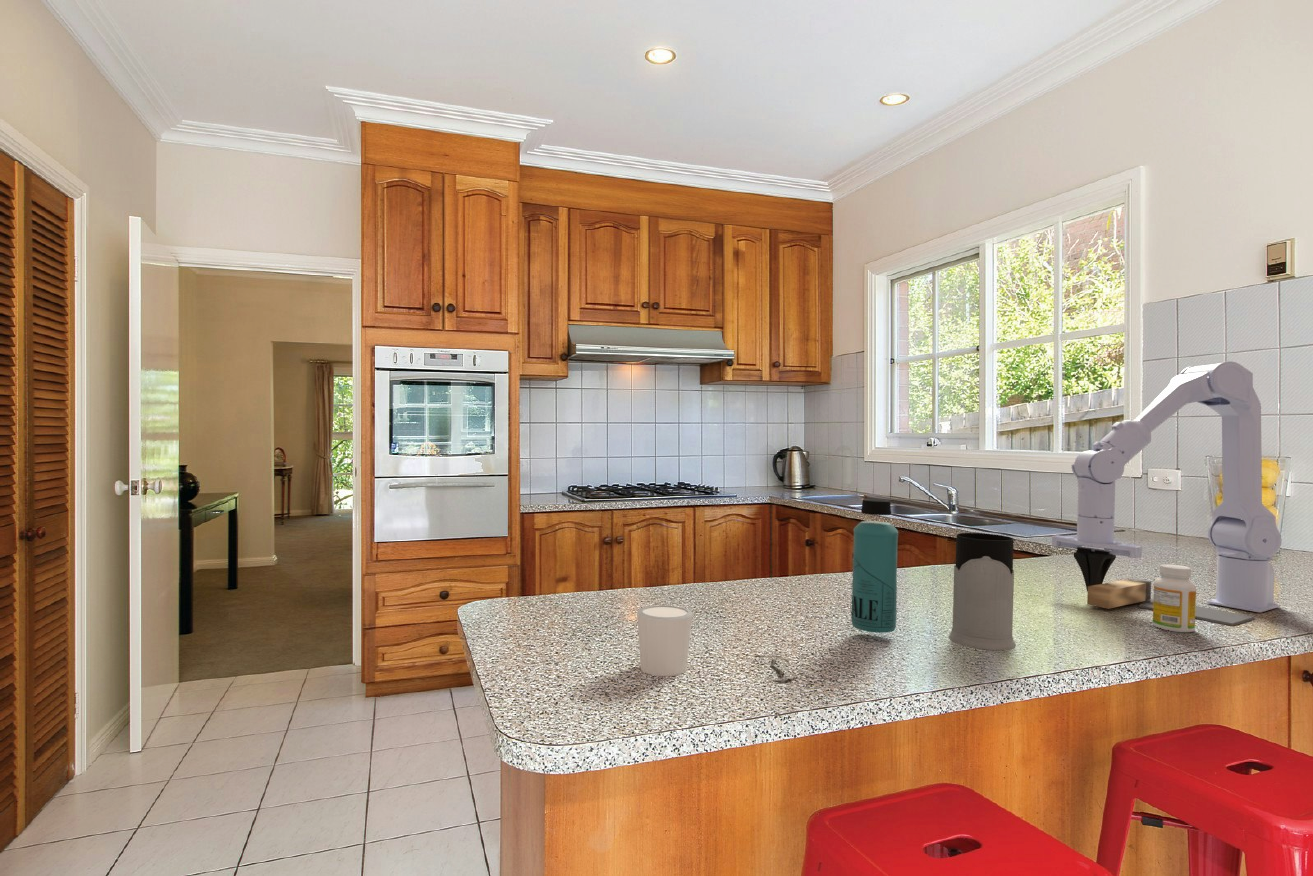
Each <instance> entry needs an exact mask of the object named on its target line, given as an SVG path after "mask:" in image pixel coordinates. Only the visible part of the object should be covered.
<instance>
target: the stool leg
mask: <svg viewBox="0 0 1313 876" xmlns="http://www.w3.org/2000/svg"><path fill="white" fill-rule="evenodd" d="M1151 597H1152V581H1150V580H1146V579H1141V578H1127V579H1122V580H1116V581H1111V582H1106V583H1105V582H1104V583H1102V584H1099V585H1093V586H1088V592H1087V598H1086V600H1087V601H1086V602H1087V605H1089V606H1094V607H1100V608H1103V609H1108V610H1109V609H1113V608H1118V607H1123V606H1126V605H1127V606H1128V605H1132V604H1138V603H1137V602H1141V601H1145V600H1150V599H1151Z"/></svg>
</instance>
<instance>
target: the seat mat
mask: <svg viewBox="0 0 1313 876" xmlns="http://www.w3.org/2000/svg"><path fill="white" fill-rule="evenodd" d="M1138 605H1139V606H1138V607H1139V608H1140V609H1147V610H1150V609H1151V611H1153V602H1150V603H1146V604H1138ZM1195 618H1197V619H1196V620H1200V619H1201V621H1206V622H1210V623H1216V624H1221V625H1226V626H1231V627H1234V626H1236V625H1239V624H1243V623H1246V622H1249V621H1252V620H1255V619H1256V618H1255V616H1252V615H1248V614H1241V613H1237V612H1233V611H1232V612H1231V611H1226V610H1220V609H1215V608H1211V607H1210V608H1209V607H1204V606H1199V605H1196V606H1195Z"/></svg>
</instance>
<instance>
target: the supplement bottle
mask: <svg viewBox="0 0 1313 876" xmlns="http://www.w3.org/2000/svg"><path fill="white" fill-rule="evenodd" d="M1158 572H1159V575H1160V576H1161V577H1157V578H1155V579H1154V582H1153V598H1152V599H1153V610H1152V625H1153V626H1154V627H1155V628H1157V627H1158V628H1157V629H1160V628H1161V629H1160V630H1165V631H1168V630H1169V631H1170V632H1175V633H1192V632H1194V631H1195V629H1196V619H1195V606H1197V605H1196V603H1197V602H1196V601H1197V586H1196V584H1195V583H1194V582H1193V581H1190V578H1192V577H1191V576H1192V568H1191V567H1190V566H1185V565H1178V564H1168V563H1167V564H1160V565H1159V571H1158Z"/></svg>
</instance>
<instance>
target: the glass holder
mask: <svg viewBox="0 0 1313 876" xmlns="http://www.w3.org/2000/svg"><path fill="white" fill-rule="evenodd" d="M955 536H956V537H955V564H954V566H953V567H954V569H953V591H952V595H953V597H952V598H953V599H952V627H951V631H950V633H949V635H948V638H949V639H950V641H952V642H954V643H956V644H957V645H960V646H965V647H970V648H974V649H979V650H989V651H1006V650H1012V649H1014V648H1016V642H1015V640H1014V637H1013V629H1014V628H1013V624H1014V623H1013V622H1014V590H1015V584H1014V583H1015V569H1014V542H1015V539H1014V538H1013V537H1011V536H1008V535H1007V536H1006V535H1000V534H994V533H982V532H981V533H979V532H960V533H956V535H955Z"/></svg>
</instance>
